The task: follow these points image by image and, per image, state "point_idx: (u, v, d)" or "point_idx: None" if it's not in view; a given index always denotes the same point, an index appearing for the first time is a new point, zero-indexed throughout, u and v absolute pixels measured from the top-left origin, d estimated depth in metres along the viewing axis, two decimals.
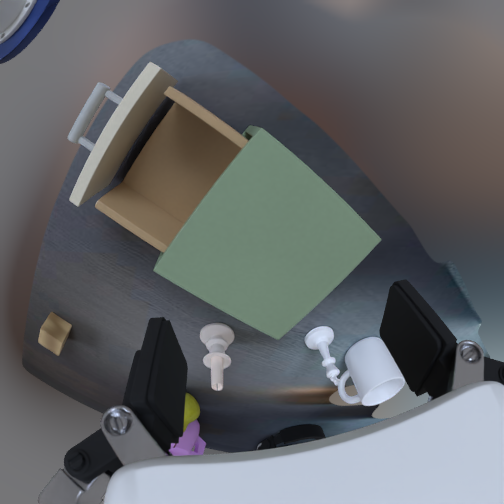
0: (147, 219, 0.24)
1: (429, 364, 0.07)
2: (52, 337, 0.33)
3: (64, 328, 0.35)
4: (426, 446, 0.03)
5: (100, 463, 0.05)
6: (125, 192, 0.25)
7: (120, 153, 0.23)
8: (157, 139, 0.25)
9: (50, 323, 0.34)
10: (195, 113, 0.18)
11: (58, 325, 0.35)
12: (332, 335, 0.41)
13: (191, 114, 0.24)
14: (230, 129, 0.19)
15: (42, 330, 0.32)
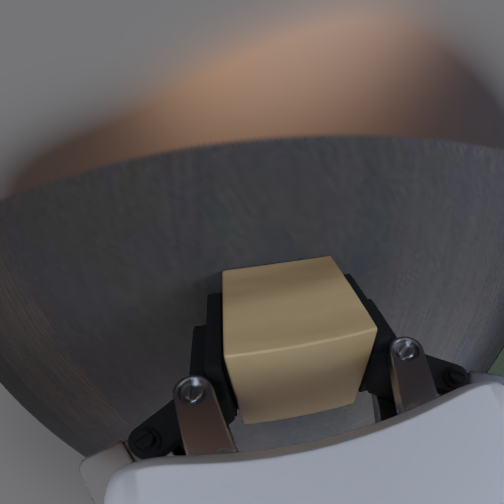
0: None
1: None
2: (357, 378, 0.08)
3: None
4: (426, 446, 0.03)
5: (173, 438, 0.06)
6: None
7: None
8: None
9: None
10: None
11: None
12: None
13: None
14: None
15: (369, 339, 0.07)
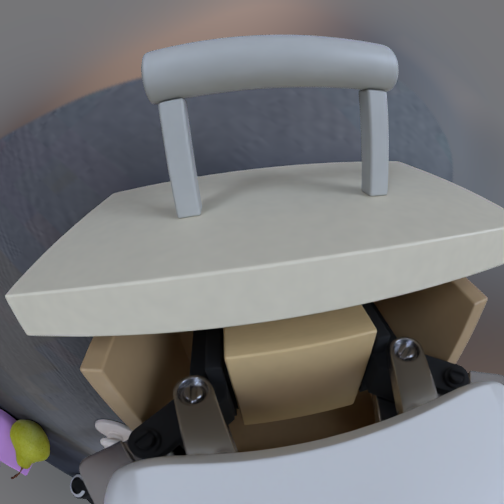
0: (169, 398, 0.10)
1: None
2: (357, 379, 0.08)
3: None
4: (426, 446, 0.03)
5: (173, 438, 0.06)
6: None
7: None
8: None
9: None
10: None
11: None
12: None
13: None
14: None
15: (368, 340, 0.07)
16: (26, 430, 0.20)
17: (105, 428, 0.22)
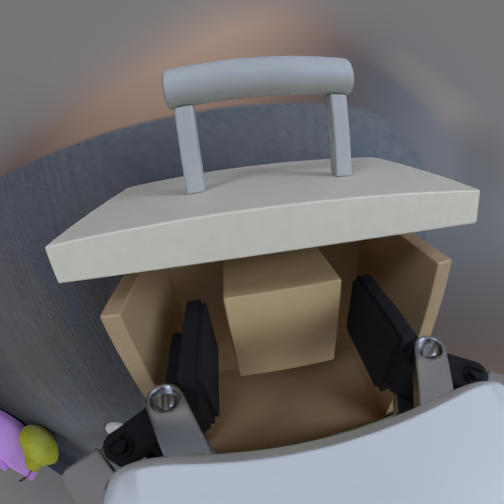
0: None
1: (388, 359, 0.08)
2: (333, 329, 0.11)
3: None
4: (426, 446, 0.03)
5: (145, 445, 0.06)
6: (159, 275, 0.12)
7: None
8: None
9: None
10: (422, 330, 0.09)
11: None
12: None
13: (351, 246, 0.14)
14: None
15: (335, 289, 0.10)
16: (35, 434, 0.22)
17: None
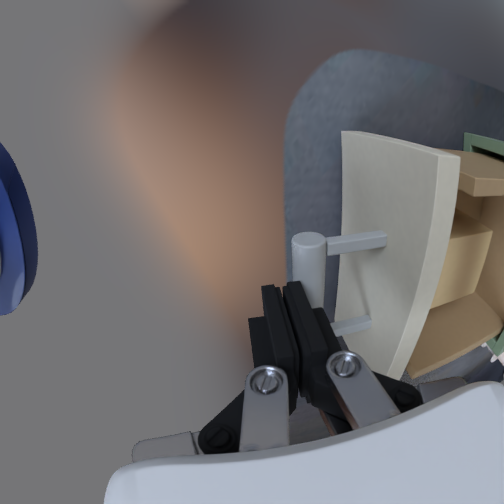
0: (450, 326, 0.15)
1: (305, 371, 0.08)
2: (475, 237, 0.11)
3: (455, 212, 0.14)
4: (426, 446, 0.03)
5: None
6: None
7: None
8: None
9: None
10: None
11: None
12: None
13: None
14: None
15: (452, 242, 0.11)
16: None
17: None
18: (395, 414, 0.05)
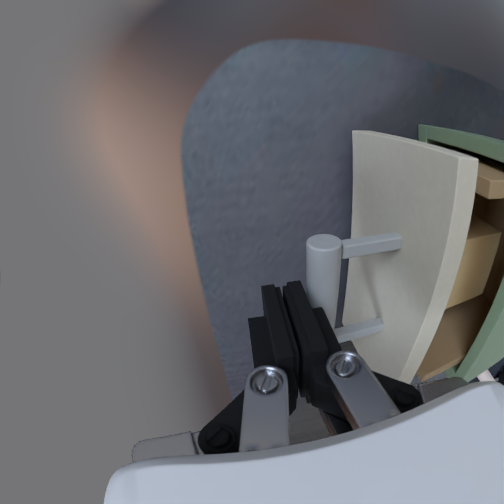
0: (458, 328, 0.14)
1: (305, 371, 0.08)
2: (485, 239, 0.11)
3: None
4: (426, 446, 0.03)
5: None
6: None
7: None
8: None
9: None
10: None
11: None
12: None
13: None
14: None
15: None
16: None
17: None
18: (395, 414, 0.05)
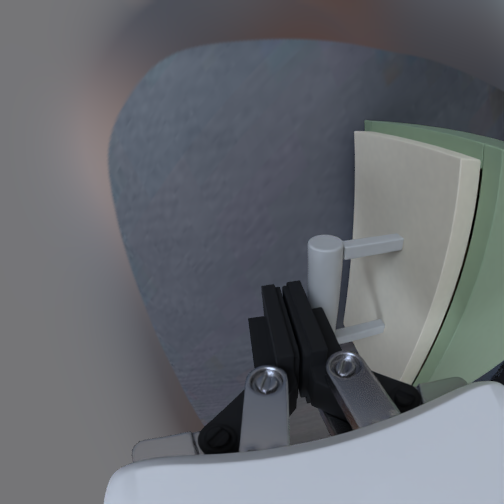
0: None
1: (305, 371, 0.08)
2: None
3: None
4: (426, 446, 0.03)
5: None
6: None
7: None
8: None
9: None
10: None
11: None
12: None
13: None
14: None
15: None
16: None
17: None
18: (395, 414, 0.05)
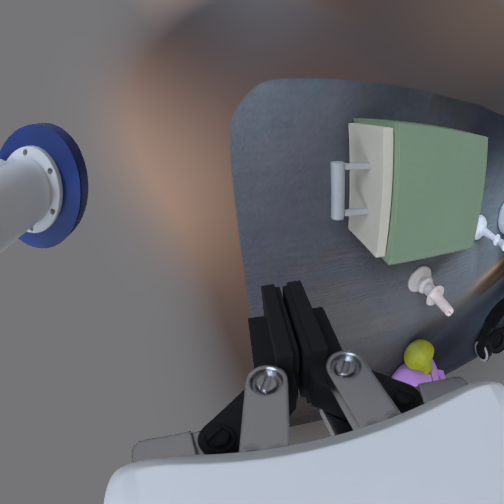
0: None
1: (305, 371, 0.08)
2: None
3: None
4: (426, 446, 0.03)
5: None
6: None
7: None
8: None
9: None
10: None
11: None
12: (485, 219, 0.36)
13: None
14: None
15: None
16: (409, 351, 0.46)
17: (414, 285, 0.41)
18: (395, 414, 0.05)
